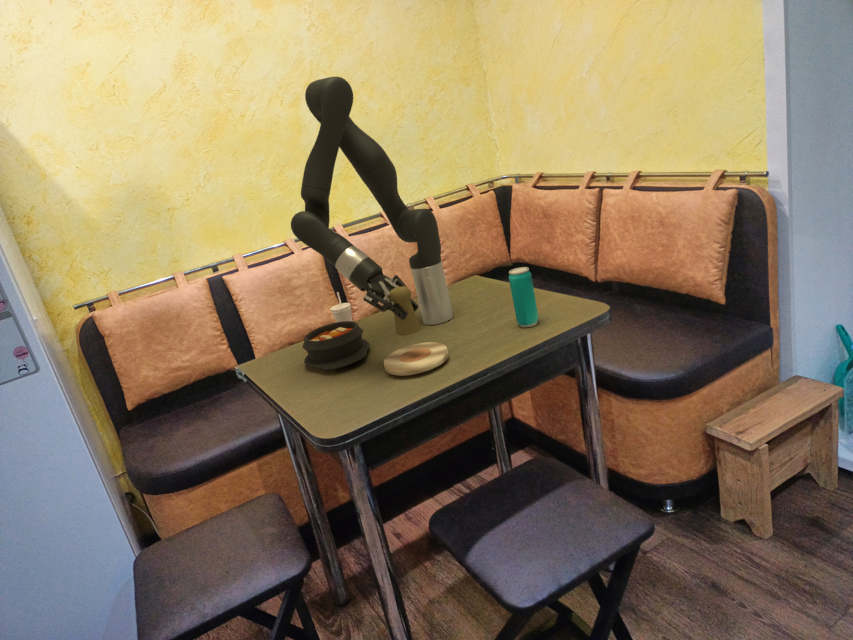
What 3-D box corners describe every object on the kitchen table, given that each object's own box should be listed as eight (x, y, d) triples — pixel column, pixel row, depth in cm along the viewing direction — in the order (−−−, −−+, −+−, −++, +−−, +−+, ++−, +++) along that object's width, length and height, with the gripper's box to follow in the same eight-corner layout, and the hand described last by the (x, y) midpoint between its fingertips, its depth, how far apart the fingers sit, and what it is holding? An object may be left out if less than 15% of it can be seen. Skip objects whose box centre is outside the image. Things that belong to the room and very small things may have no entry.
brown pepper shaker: (417, 333, 141) (407, 289, 138) (393, 336, 143) (383, 293, 140) (422, 325, 147) (413, 282, 144) (399, 328, 149) (389, 286, 145)
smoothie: (362, 331, 184) (350, 288, 180) (351, 339, 179) (339, 295, 175) (345, 332, 187) (333, 290, 183) (334, 340, 182) (321, 297, 178)
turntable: (396, 355, 158) (393, 345, 157) (454, 348, 153) (452, 338, 152) (377, 382, 143) (374, 371, 142) (441, 375, 138) (439, 364, 137)
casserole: (383, 359, 157) (375, 330, 154) (315, 383, 151) (306, 353, 149) (358, 337, 180) (351, 311, 177) (298, 357, 174) (290, 331, 172)
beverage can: (539, 319, 160) (530, 265, 155) (539, 326, 154) (529, 271, 150) (518, 322, 161) (508, 269, 156) (517, 329, 156) (507, 274, 151)
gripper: (347, 265, 138) (403, 312, 135) (380, 249, 149) (432, 292, 146) (335, 288, 142) (389, 335, 139) (368, 271, 153) (418, 313, 151)
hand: (411, 313), depth 143 cm, fingers closed on brown pepper shaker, 4 cm apart
